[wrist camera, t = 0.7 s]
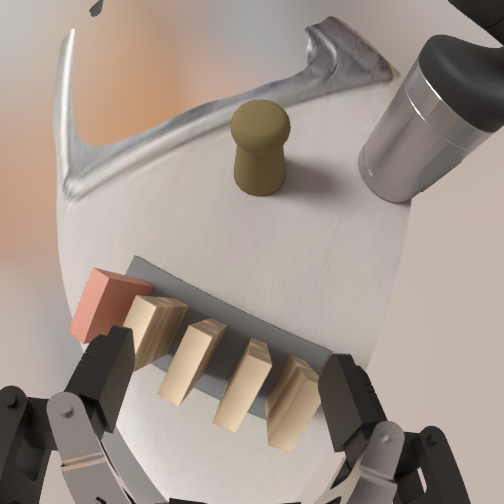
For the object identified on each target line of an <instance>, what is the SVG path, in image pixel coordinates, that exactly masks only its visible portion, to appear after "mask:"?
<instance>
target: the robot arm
mask: <svg viewBox="0 0 504 504" xmlns="http://www.w3.org/2000/svg"><path fill="white" fill-rule="evenodd" d="M448 1H449V2H450V3H451V4H452V5H454V7H456V8H457V9H458V10H459V11H461V12H462V13H463V14H464V15H466V16H467V17H468V18H470V19H471V20H472V21H474V22H475V23H476V24H478V25H479V26H480V27H482V28H483V29H484V30H486V31H487V32H488V33H489V34H490V35H492V36H493V37H494V38H495V39H496V40H498V41H499V42H500V43H501V44H502V45H503V47H501V48H488V47H483V46H479V45H475V44H472V43H469V42H466V41H464V40H461V39H458V38H455V37H452V36H448V35H435V36H432V37H431V38H430V39H429V40H428V41H427V42H426V44H425V45H424V47H423V49H422V50H421V52H420V54H419V56H418V57H417V59H416V61H415V63H414V64H413V66H412V68H411V69H410V71H409V73H408V75H407V76H406V78H405V80H404V82H403V83H402V85H401V87H400V88H399V90H398V92H397V93H396V95H395V97H394V98H393V100H392V102H391V103H390V105H389V106H388V108H387V110H386V111H385V113H384V115H383V116H382V118H381V119H380V121H379V123H378V124H377V126H376V127H375V129H374V131H373V132H372V134H371V135H370V137H369V139H368V140H367V142H366V143H365V145H364V146H363V148H362V150H361V152H360V155H359V169H360V172H361V175H362V177H363V179H364V181H365V182H366V184H367V185H368V186H369V188H370V189H371V190H372V191H373V192H374V193H376V194H377V195H378V196H380V197H381V198H383V199H385V200H387V201H390V202H395V203H402V202H406V201H408V200H410V199H411V198H413V197H414V196H416V195H417V194H418V193H420V192H423V191H424V190H426V189H427V188H428V187H430V186H431V185H432V184H434V183H435V182H436V181H438V180H439V179H440V178H442V177H443V176H444V175H445V174H447V173H448V172H449V171H451V170H452V169H453V168H455V167H456V166H457V165H458V164H460V163H461V162H462V160H463V159H464V158H465V157H466V156H468V155H469V154H470V153H471V152H472V151H474V150H475V149H476V148H477V147H478V146H480V145H481V144H482V143H483V142H484V141H485V140H487V139H488V138H489V137H490V136H492V135H493V134H494V133H495V132H496V131H498V130H499V129H500V128H501V127H502V126H504V0H448ZM134 366H135V347H134V337H133V330H132V328H128V327H123V326H119V325H115V324H114V325H113V326H112V327H111V329H110V331H109V333H108V335H107V336H106V335H102V334H100V335H98V336H97V337H96V338H94V339H93V340H92V341H91V342H90V343H89V345H88V347H87V349H86V351H85V353H84V354H83V356H82V358H81V361H80V362H79V364H78V365H77V367H76V369H75V371H74V373H73V375H72V377H71V379H70V381H69V383H68V385H67V387H66V389H65V390H64V391H63V392H60V393H57V394H55V395H53V396H52V397H51V398H50V399H40V398H31V397H27V396H26V395H25V393H24V392H23V391H22V390H21V389H20V388H19V387H16V386H7V387H4V388H3V389H1V390H0V504H39V500H40V495H41V490H42V486H43V481H44V477H45V473H46V469H47V465H48V461H49V458H50V454H51V451H52V450H56V451H59V454H60V456H61V459H62V465H61V470H62V473H63V476H64V479H65V481H66V483H67V486H68V488H69V490H70V493H71V495H72V496H73V499H74V501H75V503H76V504H137V503H136V501H135V499H134V498H133V497H132V495H131V493H130V492H129V490H128V488H127V487H126V485H125V484H124V482H123V481H122V479H121V477H120V475H119V474H118V472H117V470H116V468H115V466H114V464H113V462H112V461H111V459H110V457H109V455H108V453H107V450H106V449H105V446H104V444H103V442H102V437H103V434H104V431H106V432H109V433H113V431H114V428H115V425H116V421H117V418H118V415H119V412H120V408H121V405H122V402H123V399H124V396H125V393H126V390H127V387H128V384H129V381H130V378H131V375H132V373H133V370H134ZM318 392H319V395H320V399H321V403H322V406H323V410H324V414H325V418H326V421H327V425H328V429H329V433H330V436H331V440H332V444H333V448H334V451H335V452H342V451H345V454H346V456H345V457H344V458H343V460H342V462H341V464H340V465H339V467H338V469H337V471H336V473H335V475H334V477H333V478H332V480H331V482H330V483H329V485H328V487H327V489H326V490H325V492H324V493H323V494H322V495H321V496H320V497H319V498H318V499H317V501H316V502H315V503H314V504H391V503H392V502H393V504H471V503H470V500H469V497H468V494H467V491H466V488H465V485H464V482H463V480H462V477H461V474H460V471H459V469H458V466H457V464H456V461H455V459H454V456H453V454H452V451H451V449H450V447H449V444H448V442H447V439H446V437H445V435H444V433H443V432H442V431H441V430H440V429H439V428H437V427H435V426H428V427H426V428H424V429H423V430H422V431H421V432H420V433H411V432H403V430H402V429H401V427H400V426H398V425H397V424H396V423H394V422H391V421H388V420H387V418H386V415H385V413H384V411H383V408H382V406H381V404H380V402H379V399H378V397H377V395H376V393H375V390H374V388H373V386H372V385H371V382H370V379H369V377H368V375H367V373H366V372H365V371H364V370H363V369H362V368H361V367H360V366H356V365H355V363H354V360H353V358H352V356H351V355H350V354H332V355H331V356H330V357H329V359H328V361H327V363H326V365H325V367H324V369H323V371H322V373H321V375H320V377H319V380H318ZM420 467H421V469H422V472H423V475H424V478H425V481H426V485H427V490H426V492H425V493H424V490H423V487H422V483H421V480H420V477H419V474H418V471H417V469H419V468H420ZM157 504H206V503H203V502H194V501H187V500H180V499H173V498H170V499H169V502H168V503H157ZM284 504H301V502H296V503H284Z"/></svg>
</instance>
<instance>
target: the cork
mask: <svg viewBox="0 0 504 504" xmlns="http://www.w3.org/2000/svg"><path fill="white" fill-rule="evenodd" d="M290 128H291V127H290V120H289V117H288V115H287V113H286V112H285V110H283V109H282V108H281V107H280V106H279V105H278V104H276V103H274V102H271V101H268V100H253V101H249V102H247V103H245V104H243V105H241V106H240V107H239V108H238V109H237V110H236V112H235V113H234V115H233V117H232V120H231V134H232V136H233V138H234V141H235V142H236V144H237V150H236V158H235V166H234V179H235V181H236V184H237V185H238V186H239V187H240V189H241V190H242V191H244V192H246V193H247V194H250V195H254V196H267V195H269V194H272V193H274V192H275V191H277V190H278V189H279V188H280V187H281V186H282V184H283V183H284V179H285V163H284V151H283V145H284V143H285V142H286V141H287V139H288V137H289V133H290Z"/></svg>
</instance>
